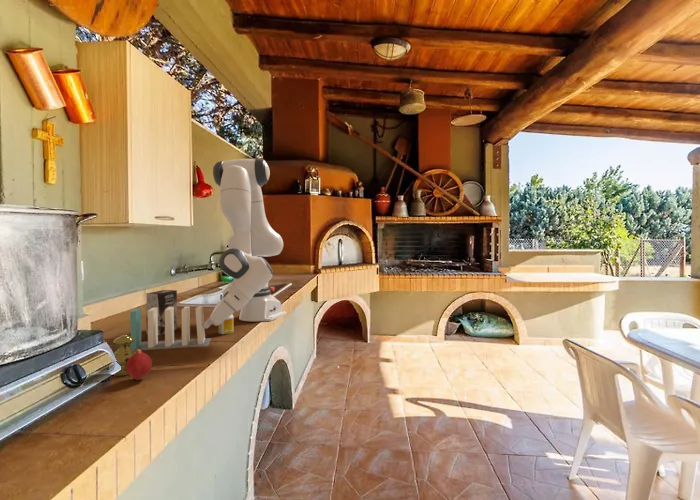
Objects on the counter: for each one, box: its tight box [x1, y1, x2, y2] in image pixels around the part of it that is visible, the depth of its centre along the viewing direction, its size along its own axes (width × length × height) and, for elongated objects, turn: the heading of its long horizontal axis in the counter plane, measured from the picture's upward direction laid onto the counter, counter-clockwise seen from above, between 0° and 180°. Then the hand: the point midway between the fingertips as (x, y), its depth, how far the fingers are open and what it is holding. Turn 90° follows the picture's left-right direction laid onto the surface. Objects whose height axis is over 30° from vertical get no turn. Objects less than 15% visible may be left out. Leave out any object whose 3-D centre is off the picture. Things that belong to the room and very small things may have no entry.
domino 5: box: [194, 305, 206, 345], centre depth 120 cm, size 2×5×12 cm, turn 15°
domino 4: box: [181, 305, 191, 346], centre depth 119 cm, size 2×5×12 cm, turn 15°
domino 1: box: [129, 307, 142, 349], centre depth 115 cm, size 2×5×12 cm, turn 15°
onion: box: [126, 350, 153, 381], centre depth 92 cm, size 6×6×8 cm
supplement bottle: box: [218, 314, 235, 335], centre depth 133 cm, size 5×5×10 cm
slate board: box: [130, 337, 212, 351], centre depth 118 cm, size 25×9×1 cm, turn 105°
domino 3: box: [164, 307, 175, 347], centre depth 118 cm, size 2×5×12 cm, turn 15°
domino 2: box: [147, 308, 159, 348], centre depth 117 cm, size 2×5×12 cm, turn 14°
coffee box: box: [145, 289, 178, 336], centre depth 133 cm, size 9×6×16 cm
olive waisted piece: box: [112, 334, 136, 377], centre depth 97 cm, size 7×7×10 cm
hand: (205, 326), depth 121 cm, fingers closed
